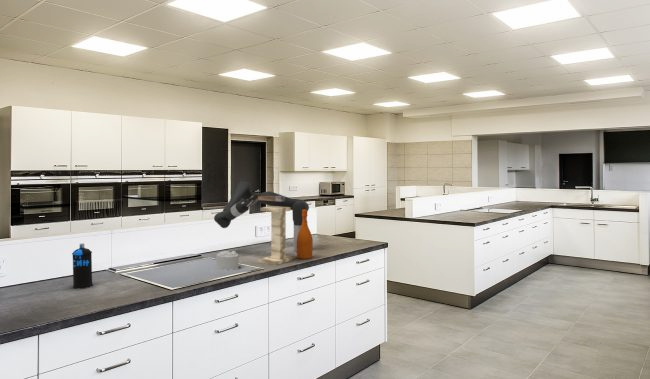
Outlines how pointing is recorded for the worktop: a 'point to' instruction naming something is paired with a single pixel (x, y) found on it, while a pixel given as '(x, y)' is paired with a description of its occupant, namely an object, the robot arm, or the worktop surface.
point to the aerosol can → (82, 267)
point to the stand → (277, 236)
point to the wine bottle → (304, 239)
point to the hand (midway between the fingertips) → (259, 195)
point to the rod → (271, 198)
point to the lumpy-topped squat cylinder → (227, 260)
